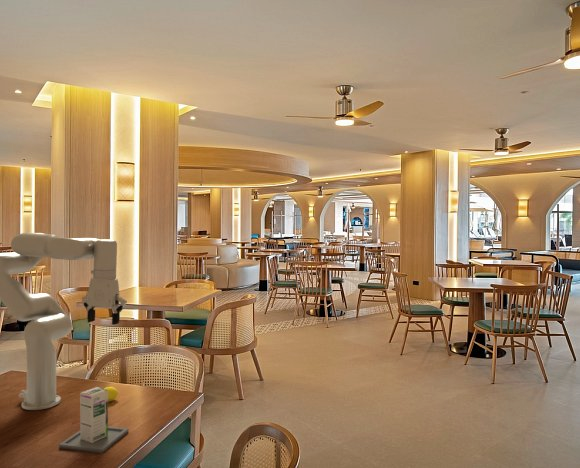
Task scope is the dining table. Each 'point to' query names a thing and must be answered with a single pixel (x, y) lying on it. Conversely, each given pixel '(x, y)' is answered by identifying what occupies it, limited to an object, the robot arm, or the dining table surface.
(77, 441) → the slate tray
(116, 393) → the lemon
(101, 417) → the syrup box
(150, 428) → the dining table surface
